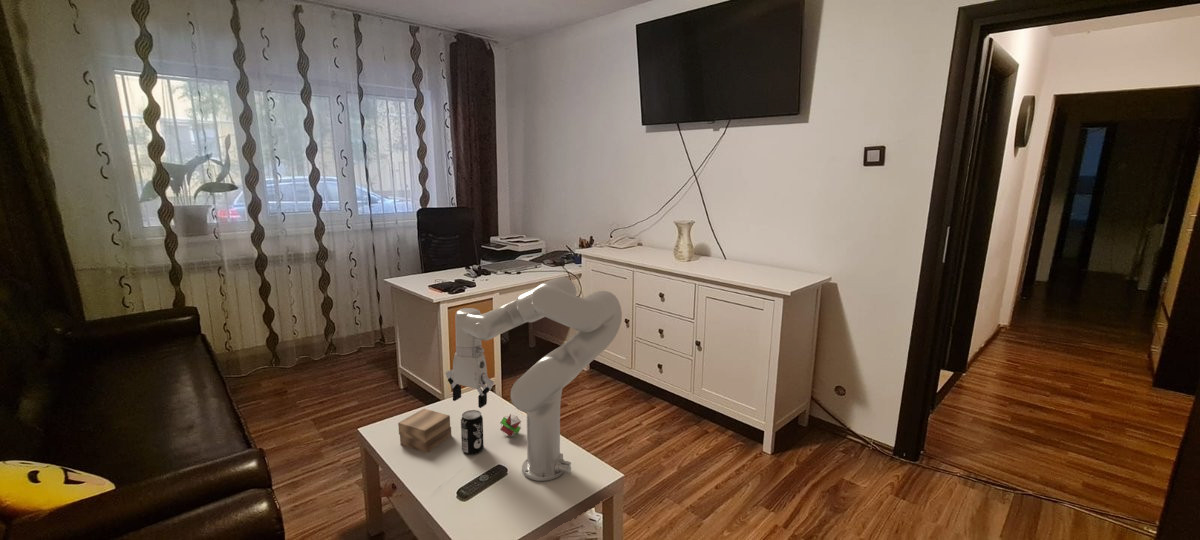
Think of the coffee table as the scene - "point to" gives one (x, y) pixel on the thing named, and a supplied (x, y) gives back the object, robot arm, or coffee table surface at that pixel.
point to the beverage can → (472, 432)
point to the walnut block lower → (429, 444)
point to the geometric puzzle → (510, 425)
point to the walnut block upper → (424, 425)
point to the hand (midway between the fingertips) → (469, 402)
